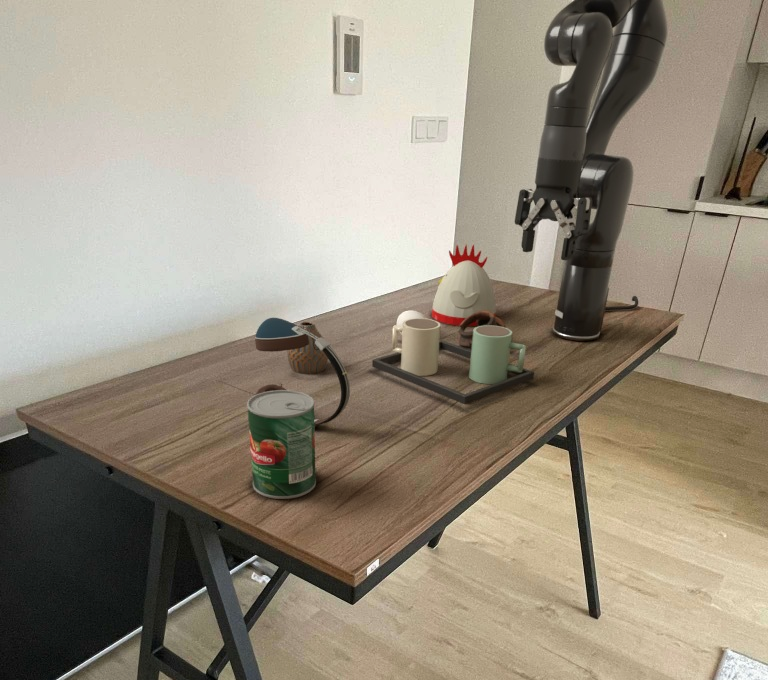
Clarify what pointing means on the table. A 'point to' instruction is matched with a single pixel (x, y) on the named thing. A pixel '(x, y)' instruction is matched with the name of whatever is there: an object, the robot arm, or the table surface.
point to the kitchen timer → (463, 290)
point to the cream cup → (418, 345)
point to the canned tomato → (282, 443)
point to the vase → (308, 354)
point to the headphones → (290, 336)
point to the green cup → (493, 354)
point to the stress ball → (408, 317)
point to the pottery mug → (482, 320)
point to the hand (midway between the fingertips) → (546, 255)
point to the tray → (385, 366)
